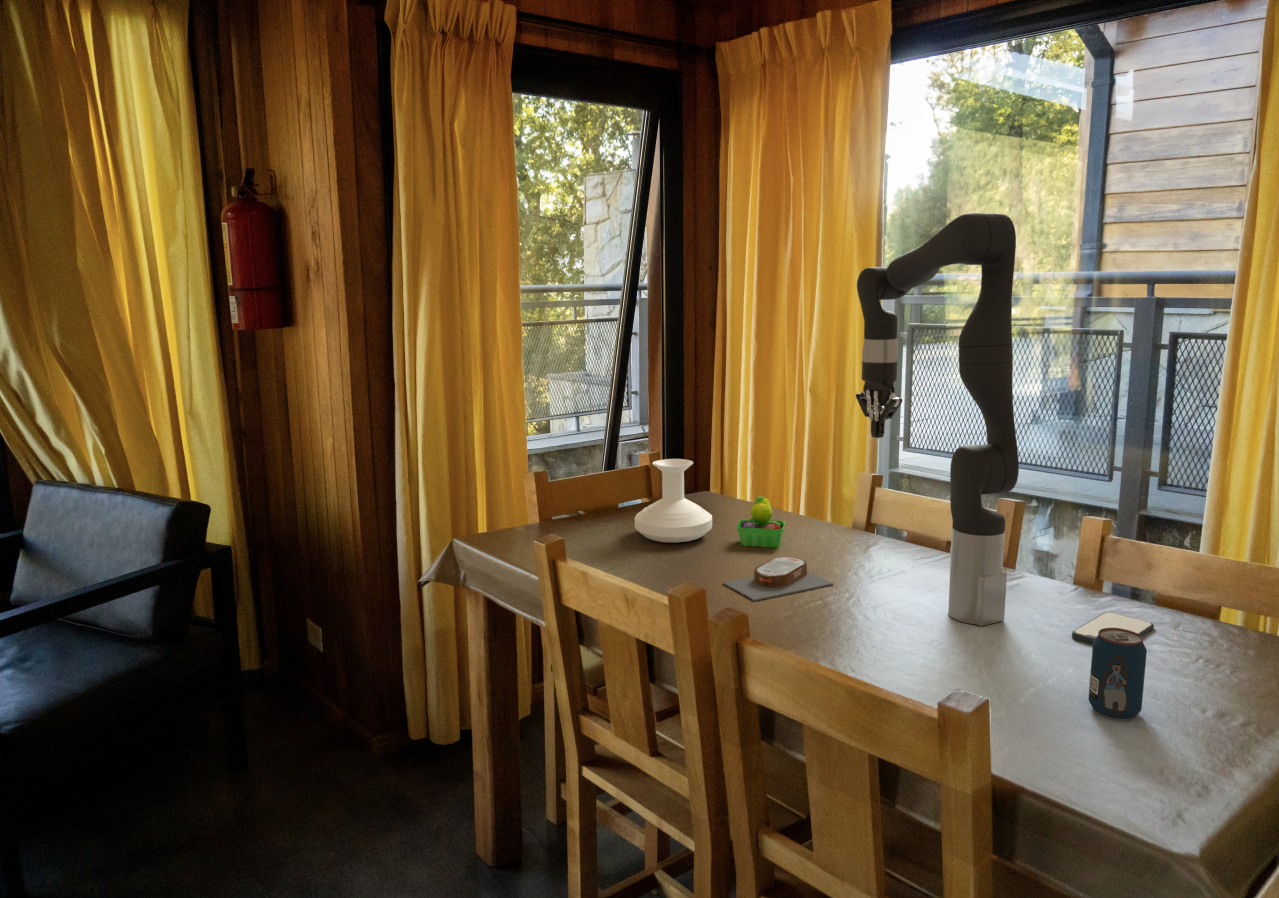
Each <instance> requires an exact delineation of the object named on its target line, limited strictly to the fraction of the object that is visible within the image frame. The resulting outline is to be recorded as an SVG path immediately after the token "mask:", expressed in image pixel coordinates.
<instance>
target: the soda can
mask: <svg viewBox="0 0 1279 898" xmlns="http://www.w3.org/2000/svg"><path fill="white" fill-rule="evenodd" d="M1091 651H1092V652H1091V663H1090V674H1089V690H1088V701H1089V704H1090V707H1091V708H1092V710H1093V711H1094V712H1095V713H1096V714H1097V715H1100V716H1101V717H1104V718H1107V719H1109V720H1114V721H1119V722H1120V721H1123V722H1125V721H1130V720H1133V719H1136V717H1137V716H1138V715H1139V714H1140V712H1141V711H1142V709H1143V707H1142V706H1143V696H1144V688H1145V686H1144V685H1145V674H1146V663H1147V653H1148V651H1147V647H1146V646H1145V644H1144V637H1143V638H1142V636H1141V635H1139V634H1137V633H1135V632H1133V631H1130V630H1126V629H1121V628H1104V629H1101V630H1099V632H1098V636H1097V637H1096V638H1095V640H1094V641H1093V645H1092V650H1091Z"/></svg>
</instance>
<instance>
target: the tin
mask: <svg viewBox="0 0 1279 898" xmlns="http://www.w3.org/2000/svg"><path fill="white" fill-rule="evenodd" d="M807 568H808V564H807V561H806V559H805V560H804V559H802V558H797V557H791V556H788V555H787V556H777V557H776V556H775V557H774V558H772V559H769V560H767V561H765V562H764V563H762V564H760V565H758V566H755V568H754V569H753V576H754V579H753V581H754V582H755V583H756V584H758V585H760V586H764V587H771V588H780V587H786V586H789V585H791V584H792V583H794V582H796V581H797V580H799V579H801V578H803V577H804V576H806V575H807V571H808V569H807Z"/></svg>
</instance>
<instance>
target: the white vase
mask: <svg viewBox="0 0 1279 898" xmlns="http://www.w3.org/2000/svg"><path fill="white" fill-rule="evenodd" d="M693 464H694V461H692V460H689V459H682V458H667V459H666V458H665V459H659V460H654V461H653V462H652V465H653V466H655V467H656V468H657V469H658V470H659V471H661V475H662V476H661V478H662V480H661V483H662V484H661V485H662V486H661V488H662V498H660V499H658V500H656V501H654V502H653V503H651V504H649V505H648V506H646V507H644V508H643V509H642V510H641V511H639V512H637V513H636V515H635V517H634V529H636V530H637V532H638V533H640V534H641V535H643V536H644V537H645V538H647V539H649V540H651V541H656V542H660V543H661V542H662V543H684V542H685V543H686V542H690V541H694V540H698V539H699V538H701V537H703V536H705V535H706V534H707V533H708V532H709V531H711V530H712V529H713V515H712V514H711V513H710V512H708V511H707V510H705V509H704V508H703V507H702V506H700V505H699V504H697V503H695V502H693V501H691V500H689V499H687V498H686V497H685V476H684V475H685V471H686V470H688V469H689V468H690V467H691V466H692V465H693Z"/></svg>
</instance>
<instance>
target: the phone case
mask: <svg viewBox="0 0 1279 898" xmlns="http://www.w3.org/2000/svg"><path fill="white" fill-rule="evenodd" d="M1104 628H1121V629H1126V630H1130V631H1133V632H1135V633H1137V634H1139V635H1141V636H1142V637H1143V636H1144V635H1146V634H1147V633H1148V634H1150V633H1151V632H1152V631H1151V630H1153V629H1154V628H1155V626H1154V623H1152V622H1151V621H1146V620H1143V619H1138V618H1135V617H1131V616H1127V615H1123V614H1119V613H1115V612H1110V611H1109V612H1107V611H1106V612H1104V613H1101V614H1100V615H1098V616H1097V617H1094V618H1093V619H1092V620H1089V621H1088V622H1086V623H1084V624H1083V625H1080V626H1079V627H1078V628H1076V629H1073V631H1072V632H1071V633H1072V634H1071V638H1072V639H1073V640H1075V641H1078V642H1080V641H1081V643H1084V642H1085V644H1087V643H1088V645H1091V644H1093V641H1094V640H1095V638H1096V637H1097V636H1098V632H1099V630H1101V629H1104ZM1150 631H1151V632H1150ZM1153 631H1154V630H1153ZM1149 632H1150V633H1149ZM1148 634H1147V635H1148ZM1147 635H1146V636H1147ZM1144 637H1145V636H1144ZM1144 637H1143V638H1144Z"/></svg>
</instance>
